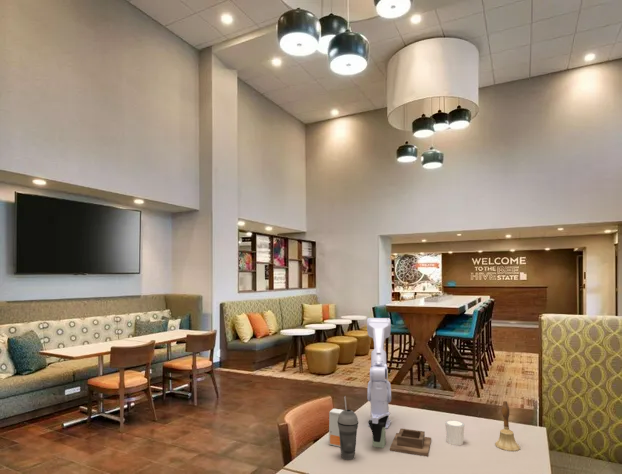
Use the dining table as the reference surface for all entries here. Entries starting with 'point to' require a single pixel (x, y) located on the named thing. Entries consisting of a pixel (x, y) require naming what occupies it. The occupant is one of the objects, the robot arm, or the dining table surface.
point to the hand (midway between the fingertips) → (379, 437)
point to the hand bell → (506, 433)
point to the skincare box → (334, 427)
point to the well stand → (411, 442)
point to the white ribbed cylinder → (454, 432)
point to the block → (383, 439)
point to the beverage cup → (347, 432)
